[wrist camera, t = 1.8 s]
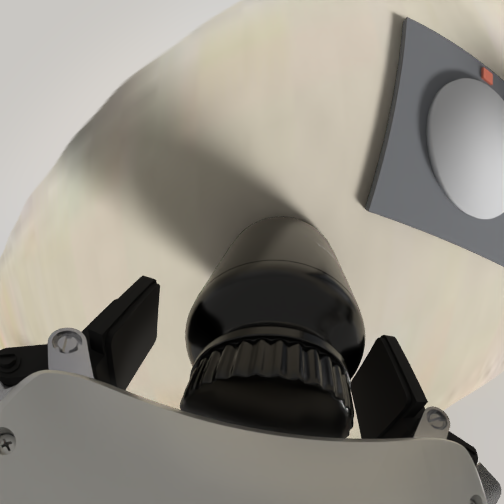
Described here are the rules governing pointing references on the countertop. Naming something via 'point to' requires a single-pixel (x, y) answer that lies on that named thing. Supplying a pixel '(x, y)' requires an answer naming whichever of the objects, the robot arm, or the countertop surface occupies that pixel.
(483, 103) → the mount plate
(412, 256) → the countertop surface
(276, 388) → the supplement bottle
